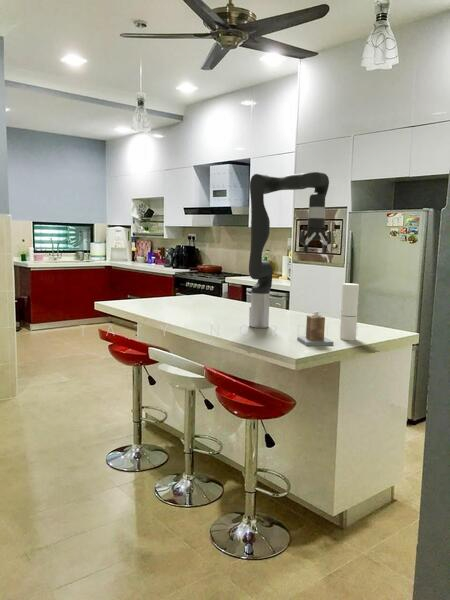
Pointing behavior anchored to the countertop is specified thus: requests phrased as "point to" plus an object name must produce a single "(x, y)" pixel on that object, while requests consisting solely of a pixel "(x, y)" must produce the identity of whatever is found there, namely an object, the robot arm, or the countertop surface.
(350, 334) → the cylindrical container
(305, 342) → the post stand
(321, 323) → the collar
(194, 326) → the countertop surface
